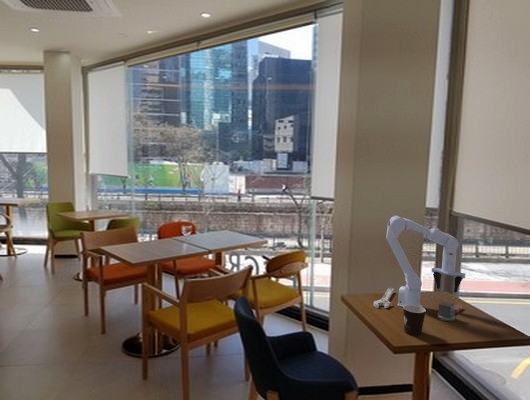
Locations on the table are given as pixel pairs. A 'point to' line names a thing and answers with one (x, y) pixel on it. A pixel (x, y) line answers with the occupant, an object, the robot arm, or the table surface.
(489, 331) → the table surface
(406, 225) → the robot arm
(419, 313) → the coffee mug
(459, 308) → the ratchet
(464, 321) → the table surface
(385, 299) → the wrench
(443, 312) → the socket
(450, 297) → the table surface
